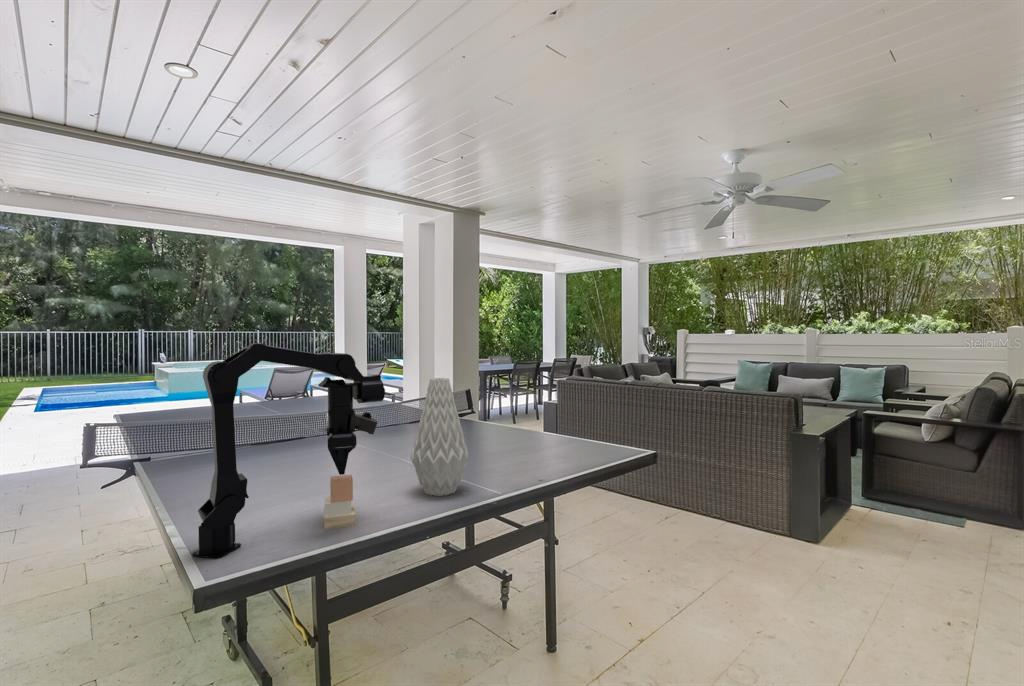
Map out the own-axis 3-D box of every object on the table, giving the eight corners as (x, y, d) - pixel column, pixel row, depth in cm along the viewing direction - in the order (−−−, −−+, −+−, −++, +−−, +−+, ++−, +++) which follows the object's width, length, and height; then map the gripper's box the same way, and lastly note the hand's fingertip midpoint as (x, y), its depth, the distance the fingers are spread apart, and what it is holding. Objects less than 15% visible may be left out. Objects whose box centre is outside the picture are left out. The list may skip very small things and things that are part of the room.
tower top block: (351, 513, 121) (351, 501, 121) (324, 517, 119) (324, 504, 119) (350, 506, 127) (349, 494, 127) (324, 509, 125) (324, 497, 125)
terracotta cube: (352, 500, 122) (352, 479, 122) (330, 502, 120) (330, 481, 120) (351, 494, 126) (351, 474, 126) (330, 496, 125) (330, 476, 125)
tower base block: (355, 526, 121) (355, 514, 121) (324, 530, 119) (324, 518, 118) (354, 517, 127) (353, 505, 127) (324, 520, 125) (324, 508, 125)
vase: (403, 488, 150) (402, 377, 150) (455, 480, 158) (454, 375, 158) (422, 504, 136) (421, 381, 135) (478, 494, 144) (477, 379, 143)
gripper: (378, 408, 116) (379, 476, 117) (371, 399, 134) (372, 458, 134) (327, 411, 112) (328, 481, 113) (326, 401, 130) (327, 462, 130)
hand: (341, 469), depth 122 cm, fingers open, 9 cm apart
